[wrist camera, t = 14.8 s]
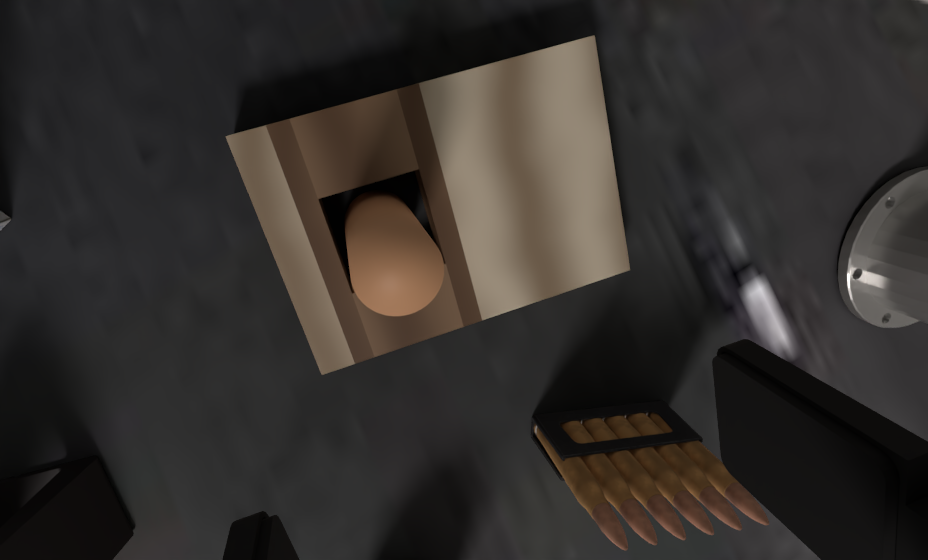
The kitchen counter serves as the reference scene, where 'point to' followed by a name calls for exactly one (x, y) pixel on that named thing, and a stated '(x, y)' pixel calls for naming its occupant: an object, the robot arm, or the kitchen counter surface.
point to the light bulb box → (3, 220)
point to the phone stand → (62, 514)
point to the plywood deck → (447, 194)
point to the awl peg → (390, 255)
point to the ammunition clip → (640, 469)
